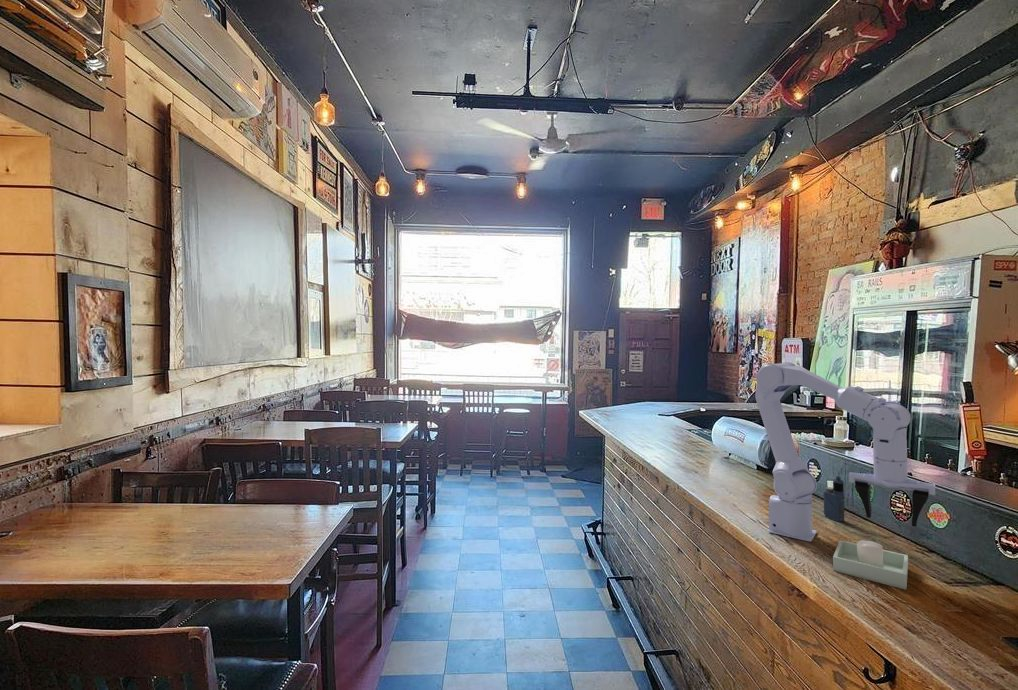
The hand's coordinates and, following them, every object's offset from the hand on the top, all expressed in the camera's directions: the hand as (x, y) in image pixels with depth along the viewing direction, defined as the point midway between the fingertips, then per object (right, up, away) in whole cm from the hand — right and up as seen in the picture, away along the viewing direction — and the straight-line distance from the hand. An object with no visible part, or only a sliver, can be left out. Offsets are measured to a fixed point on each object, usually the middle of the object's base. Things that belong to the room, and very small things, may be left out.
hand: (891, 520), depth 101 cm
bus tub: (-6, -10, -2) cm, 12 cm away
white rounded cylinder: (-6, -10, -2) cm, 11 cm away
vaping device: (+6, -10, +27) cm, 29 cm away
